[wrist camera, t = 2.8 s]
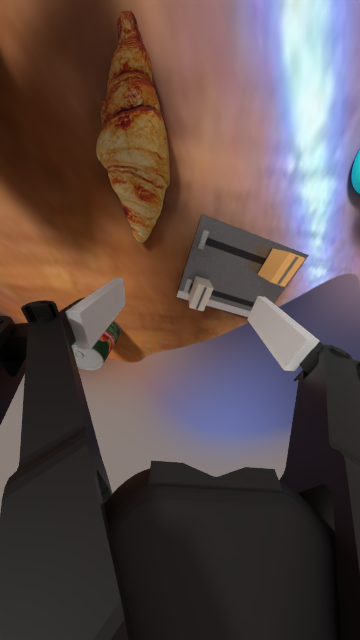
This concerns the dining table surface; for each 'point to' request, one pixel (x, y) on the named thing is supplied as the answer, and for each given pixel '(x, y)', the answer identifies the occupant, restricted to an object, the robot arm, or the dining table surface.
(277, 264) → the orange fader
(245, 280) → the console
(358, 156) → the donuts
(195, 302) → the cream fader
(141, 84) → the croissant
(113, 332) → the canned tomato
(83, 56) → the dining table surface
